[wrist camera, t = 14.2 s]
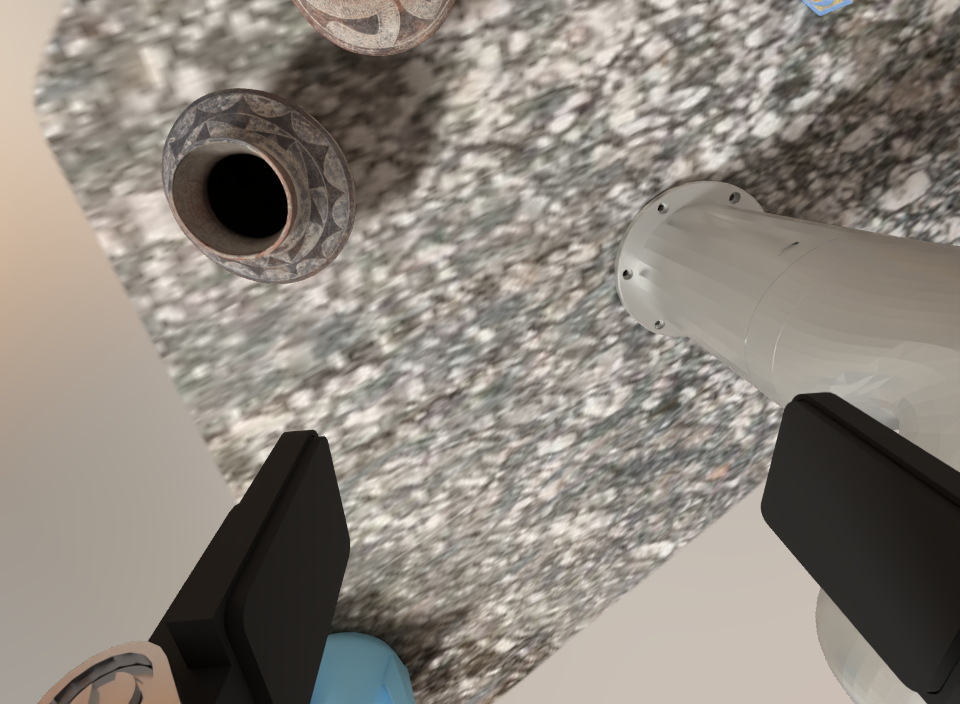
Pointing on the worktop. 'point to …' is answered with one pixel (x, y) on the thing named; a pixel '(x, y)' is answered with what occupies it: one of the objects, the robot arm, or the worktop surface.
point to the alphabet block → (826, 5)
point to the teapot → (361, 672)
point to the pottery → (280, 156)
